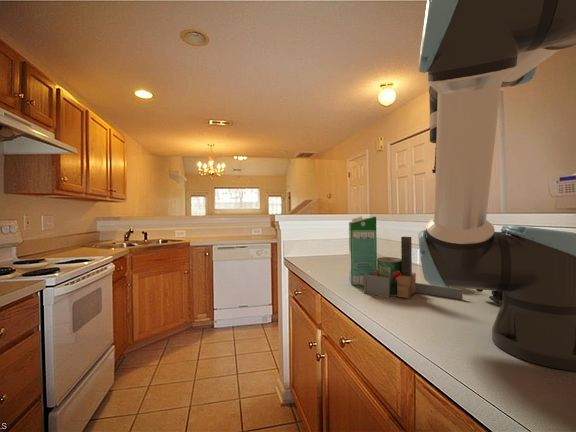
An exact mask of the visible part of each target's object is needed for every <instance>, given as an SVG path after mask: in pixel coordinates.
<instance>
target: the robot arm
mask: <svg viewBox="0 0 576 432" xmlns="http://www.w3.org/2000/svg"><path fill="white" fill-rule="evenodd" d="M425 6H426V7H425V8H426V9H425V14H424V21H423V28H422V33H421V34H422V35H421V44H420V54H419V63H418V72H419V73H422V74H425V73H427V84H428V85H429V86H428V94H429V95H428V96H429V98H428V102H429V119H428V120H429V121H428V122H429V124H428V127H429V129H430V130H429V142H430V143H432V144H435V152H434V156H435V157H434V166H433V169H431V170H432V171H431V172H432V174H434V175H435V177H434V178H435V180H434V181H435V182H434V184H435V185H434V188H435V189H434V217H433V218H430V219H429V220H428V221H427V222H426V225H425V229H424V230H419V232H418V233H417V235H418V236H417V237H418V248H419V254H420V257H419V258H420V263H421V269H422V274H423V277H424V280H425V282H426V283H428V285H431V284H432V285H437V286H444V287H447V288H457V289H468V290H469V289H470V290H476V289H480V290H483V291H491V292H492V291H502V292H503V302H502V305H500V309H499V311H498V313H497V314H496V317H495V320H494V323H493V325H492V328H491V341H492V342H493V344H494V345H495V346H497V348H499V349H501V350H502V351H503V352H506V353H507V354H510V355H512V356H514V357H517V358H518V359H521V360H524V361H527V362H530V363H533V364H535V365H540V366H544V367H547V368H552V369H558V370H563V371H571V372H576V232H572V231H565V230H557V229H550V228H549V229H547V228H538V227H530V226H529V227H528V226H521V225H520V226H519V225H512V224H504V225H502V227H501V228H500V231H496V228H495V226H494V225H493V224H492V222H490V221H488V220H487V214H488V206H489V197H490V196H489V195H490V188H491V179H492V171H493V170H492V169H493V160H494V151H495V143H496V136H497V135H496V133H497V126H498V125H497V124H498V117H499V116H498V115H499V108H500V98H501V89H502V88H506V87H516V86H518V85H523V84H527V83H529V82H531V81H532V79H533V78H534V76H535V73H536V72H537V67H538V66H539V65H540V64H541V63H543V62H544V61H546V60H547V59H549V58H550V57H552V56H553V55H554V54H555V53H557V52H558V51H561V50H565V49H569V48H572V47H574V46H576V0H426V5H425Z"/></svg>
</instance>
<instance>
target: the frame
mask: <svg viewBox="0 0 576 432" xmlns="http://www.w3.org/2000/svg"><path fill="white" fill-rule="evenodd" d="M463 291H464V288H457V287H450V288H447V287H443V286H435V285H431V284H429V283H428V284H427V283H419V282H416V292H415V293H418V294H419V293H420V294H424V295H429V294H430V295H431V296H435V297H436V296H437V297H443V298H448V297H449V299H455V300H461V301H462V300H463V299H464V298H463V295H464V294H463ZM363 294H368V295H374V296H379V297H384V298H390V297H391V296H390V278H387V277H380V276H377V270H374V271H372V272H370V273H367V274H365V275H364V285H363Z"/></svg>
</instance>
